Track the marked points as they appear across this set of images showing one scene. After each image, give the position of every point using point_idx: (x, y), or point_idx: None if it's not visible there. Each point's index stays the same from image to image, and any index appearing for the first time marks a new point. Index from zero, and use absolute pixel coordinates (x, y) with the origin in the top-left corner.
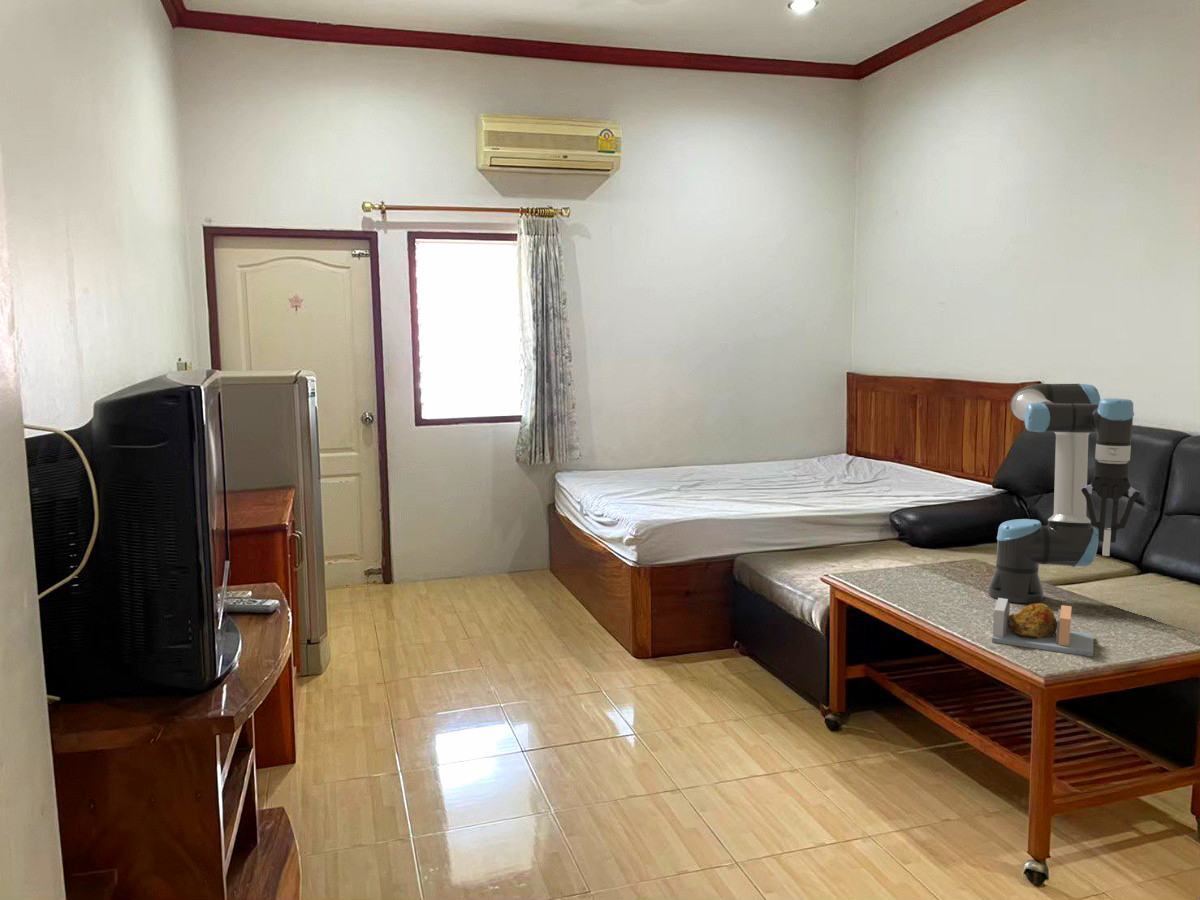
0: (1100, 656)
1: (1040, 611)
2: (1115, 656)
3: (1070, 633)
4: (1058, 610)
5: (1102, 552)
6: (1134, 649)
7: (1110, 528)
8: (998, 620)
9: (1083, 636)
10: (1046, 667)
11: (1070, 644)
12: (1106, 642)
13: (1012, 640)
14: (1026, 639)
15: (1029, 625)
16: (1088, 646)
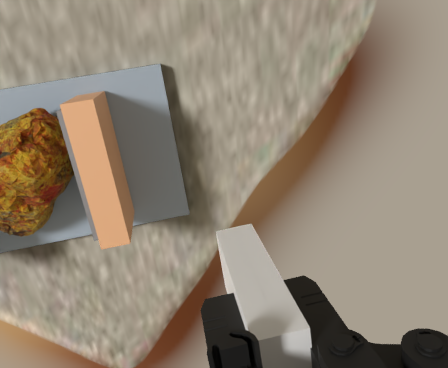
0: (202, 197)
1: (24, 195)
2: (230, 176)
3: (108, 99)
4: (63, 134)
5: (217, 237)
6: (261, 94)
7: (307, 335)
8: None
9: (144, 106)
10: (124, 330)
11: (133, 192)
12: (196, 78)
13: (7, 251)
14: None
15: (21, 225)
16: (172, 181)
